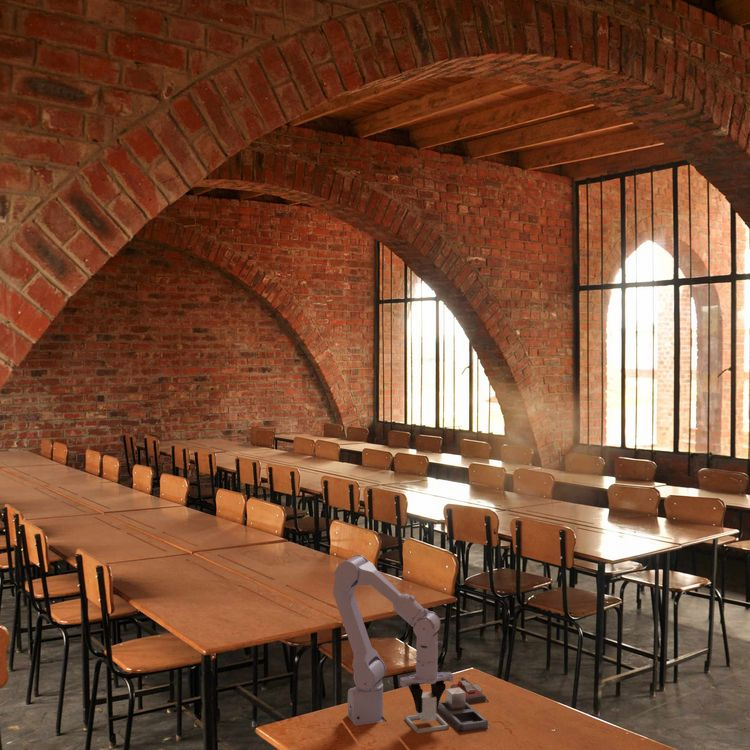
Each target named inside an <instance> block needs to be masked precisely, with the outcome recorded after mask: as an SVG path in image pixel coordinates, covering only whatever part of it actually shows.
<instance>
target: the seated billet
mask: <svg viewBox="0 0 750 750" xmlns="http://www.w3.org/2000/svg"><path fill="white" fill-rule="evenodd" d="M445 691H446V692H445V699H446V700H445V701H446V708H447V709H448V710H449V711H450V712H452V711H459V710H465V698H466V693H465V692H464V691H463V690H462V689H461V688H460V687H458V688H451V687H450V688H445Z"/></svg>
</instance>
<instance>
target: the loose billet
mask: <svg viewBox="0 0 750 750" xmlns="http://www.w3.org/2000/svg"><path fill="white" fill-rule="evenodd" d="M436 713H437V711H436V696H435V695H434V694H433V693H432V691H425V692H424V691H423V692H422V699H421V713H418V712H417V711H416V715H417V716H418V718H419V719H418V720H420V721H421V722H429V721H435V720H436V721H437V719H436Z"/></svg>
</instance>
